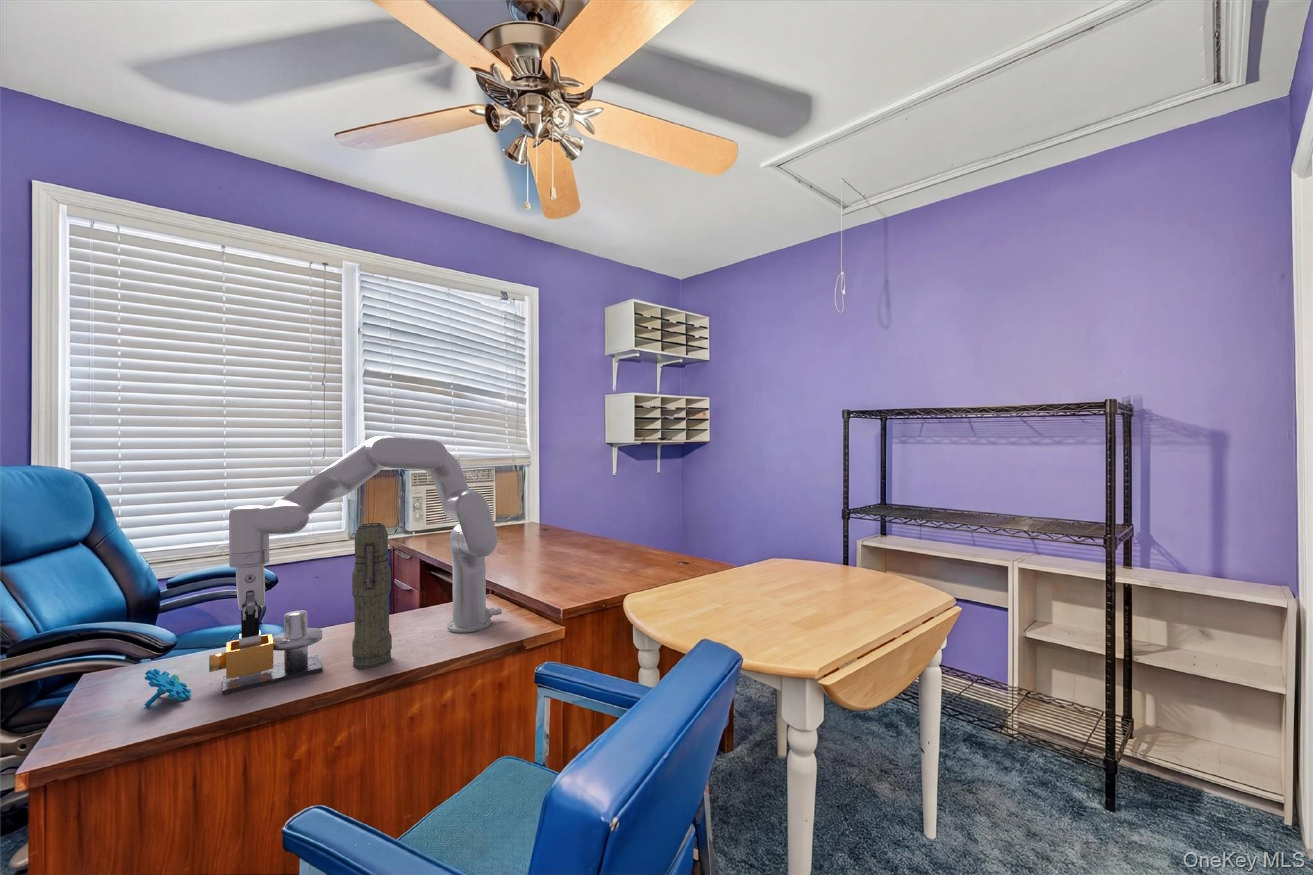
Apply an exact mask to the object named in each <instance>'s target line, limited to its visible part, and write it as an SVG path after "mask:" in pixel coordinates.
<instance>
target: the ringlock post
mask: <svg viewBox="0 0 1313 875" xmlns="http://www.w3.org/2000/svg"><path fill="white" fill-rule="evenodd" d="M308 615H309V614H308V611H307V610H301V609H300V610H294V611H289V612H286V613H284V615H283V632H281V633H278V634H275V635H273V634H272V633H270V634H261V645H258V646H253V647H248V648H243V649H239V639H236V640H231V641H228V642H227V641H226V649H225V650H226V651H225V652H221V653H216V654H211V655H208V656H209V658H208V659H209V663H208V667H209V668H208V669H209V671H208V672H209V673H211V672H216V671H217V672H218V671H222V670H225V674H224V675H222V688H221V690H222V691H221V692H222V693H221V695H222V696H225V695H230V694H233V693H238V692H242V691H246V690H250V689H254V688H258V687H263V686H267V685H271V684H277V683H280V682H284V681H288V680H292V679H296V678H300V677H304V676H305V677H306V676H308V675H309V674H310V675H314V674H319V673H322V672H323V671H324V670H323V669H324V668H323V665H322V662H321V660H320V658H319V655H318V654H317V655H316V654H315V655H311V656H309V650H308V649H309V648H308V647H310V646H311V645H314V644H316V643H318V642H320V641H321V640H322V639H323V630H322V629H321V628H319V627H318V628H315V627H308V626H309V625H308V624H309V622H308V619H309V618H308ZM274 651H278V652H279V651H280V652H282V651H284V652H283V654H284V655H283V660H284V661H283V662H280V663H274ZM259 672H261V677H260V678H255V679H251V680H247V681H242V682H239V677H241V676H245V675H250V674H254V673H259Z"/></svg>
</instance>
